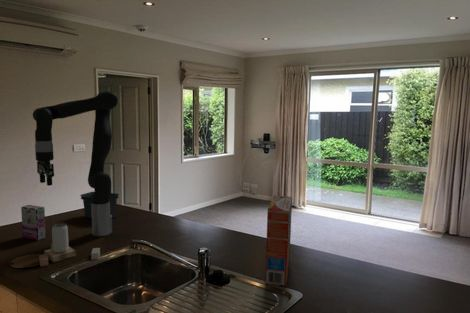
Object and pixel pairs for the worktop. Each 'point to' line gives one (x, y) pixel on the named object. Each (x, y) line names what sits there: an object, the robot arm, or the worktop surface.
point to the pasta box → (278, 240)
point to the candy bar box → (33, 222)
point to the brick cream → (95, 253)
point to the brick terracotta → (43, 260)
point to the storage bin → (87, 204)
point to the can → (60, 237)
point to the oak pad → (60, 254)
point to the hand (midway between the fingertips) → (46, 183)
